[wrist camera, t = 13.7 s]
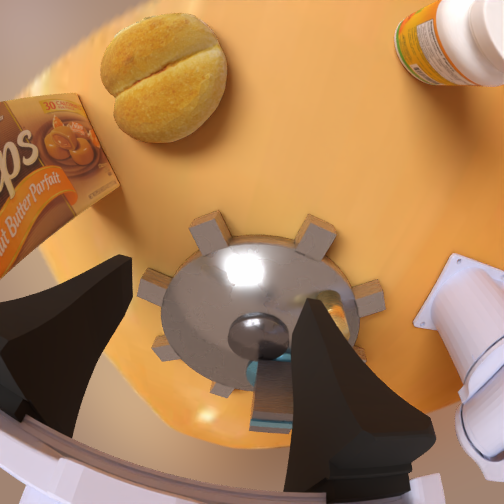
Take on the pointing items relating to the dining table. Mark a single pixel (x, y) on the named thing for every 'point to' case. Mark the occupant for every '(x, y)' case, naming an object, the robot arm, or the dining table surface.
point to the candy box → (46, 171)
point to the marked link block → (272, 398)
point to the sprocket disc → (250, 299)
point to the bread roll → (164, 76)
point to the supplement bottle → (454, 43)
